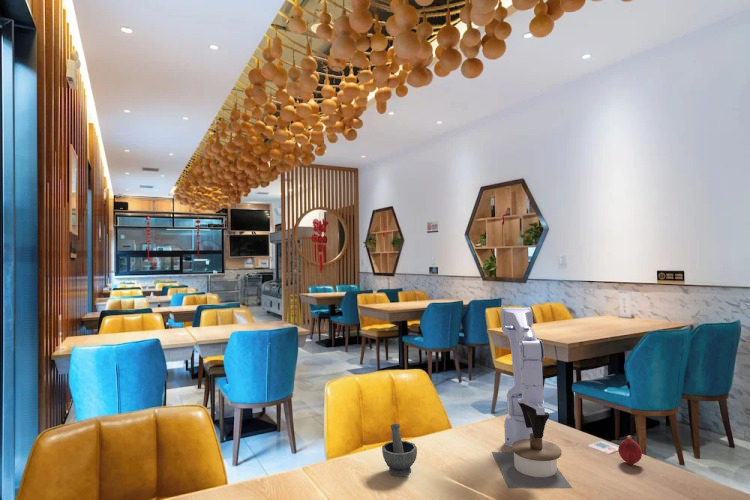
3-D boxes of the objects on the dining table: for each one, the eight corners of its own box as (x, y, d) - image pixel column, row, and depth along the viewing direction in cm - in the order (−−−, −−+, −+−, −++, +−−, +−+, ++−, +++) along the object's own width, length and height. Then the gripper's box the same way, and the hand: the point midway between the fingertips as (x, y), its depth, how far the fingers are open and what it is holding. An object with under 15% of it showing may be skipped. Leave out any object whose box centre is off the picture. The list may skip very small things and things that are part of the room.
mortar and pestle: (420, 478, 122) (419, 433, 123) (387, 481, 121) (385, 436, 121) (410, 460, 134) (409, 419, 134) (379, 463, 132) (378, 422, 132)
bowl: (506, 467, 126) (506, 450, 126) (528, 456, 133) (528, 439, 133) (543, 481, 118) (542, 463, 118) (564, 468, 125) (563, 451, 125)
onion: (645, 470, 123) (644, 440, 124) (623, 468, 124) (621, 439, 125) (638, 461, 129) (636, 432, 129) (616, 459, 130) (614, 431, 130)
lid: (502, 448, 128) (501, 433, 128) (532, 438, 135) (531, 423, 135) (541, 465, 117) (540, 448, 117) (571, 452, 124) (570, 436, 124)
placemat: (508, 489, 115) (508, 487, 115) (491, 453, 137) (491, 451, 137) (572, 489, 114) (572, 487, 114) (544, 453, 136) (544, 451, 136)
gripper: (511, 377, 134) (513, 423, 133) (524, 391, 119) (526, 442, 119) (535, 376, 133) (537, 423, 133) (551, 390, 119) (553, 442, 118)
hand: (534, 432), depth 126 cm, fingers open, 7 cm apart
